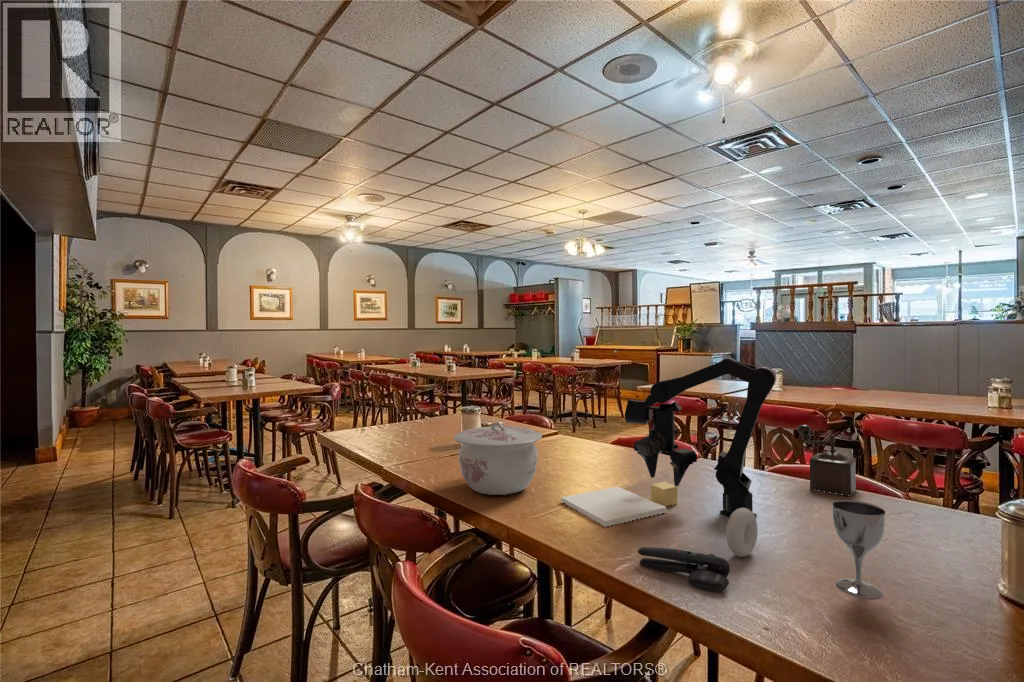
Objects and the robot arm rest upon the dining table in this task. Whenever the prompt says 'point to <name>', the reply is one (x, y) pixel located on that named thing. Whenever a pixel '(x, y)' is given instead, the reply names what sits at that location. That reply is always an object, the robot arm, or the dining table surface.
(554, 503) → the dining table surface
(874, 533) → the wine glass
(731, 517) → the donut
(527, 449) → the chamber pot
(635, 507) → the board
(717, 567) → the can opener
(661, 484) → the cube
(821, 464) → the coffee grinder
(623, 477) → the dining table surface
